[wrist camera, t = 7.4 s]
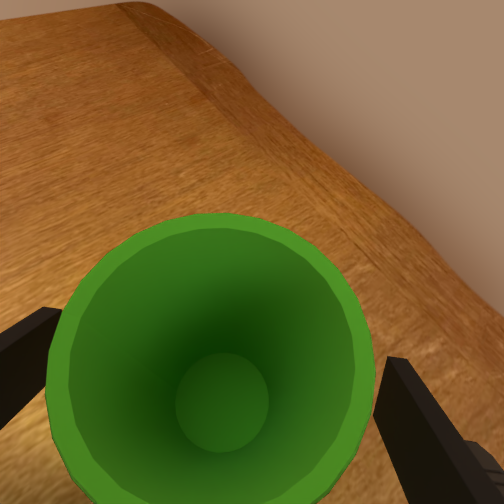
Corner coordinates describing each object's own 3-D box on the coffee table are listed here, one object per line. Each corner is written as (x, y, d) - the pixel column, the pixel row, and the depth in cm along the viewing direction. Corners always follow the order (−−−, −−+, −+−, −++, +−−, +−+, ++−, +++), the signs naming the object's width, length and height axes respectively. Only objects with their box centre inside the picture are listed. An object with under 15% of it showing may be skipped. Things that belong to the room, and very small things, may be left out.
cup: (297, 520, 17) (382, 590, 7) (110, 482, 17) (-35, 503, 8) (312, 336, 21) (376, 235, 12) (165, 309, 22) (115, 191, 12)
